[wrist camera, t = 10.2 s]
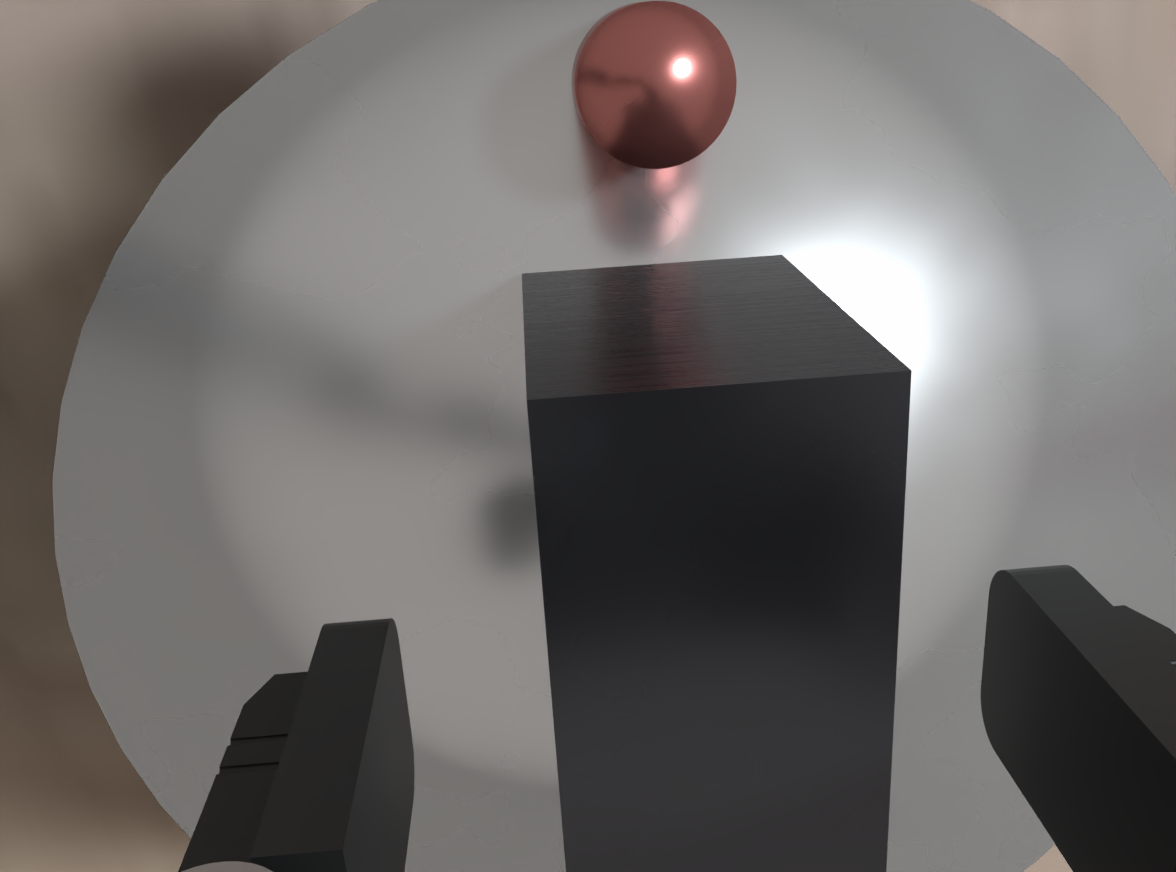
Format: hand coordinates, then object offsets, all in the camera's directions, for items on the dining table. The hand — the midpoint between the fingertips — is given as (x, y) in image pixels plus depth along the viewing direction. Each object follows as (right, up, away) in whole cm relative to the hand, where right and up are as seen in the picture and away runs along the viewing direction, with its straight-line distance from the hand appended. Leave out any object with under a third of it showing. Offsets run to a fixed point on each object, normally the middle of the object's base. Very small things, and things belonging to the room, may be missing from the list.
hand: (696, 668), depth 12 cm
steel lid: (0, +1, +3) cm, 3 cm away
